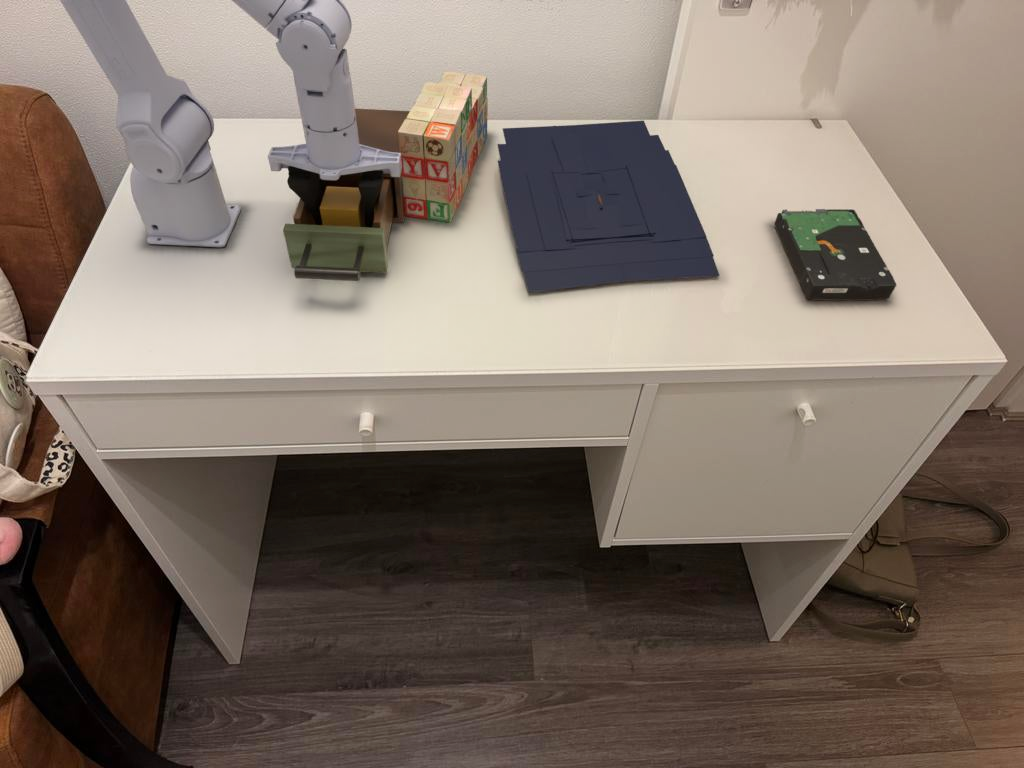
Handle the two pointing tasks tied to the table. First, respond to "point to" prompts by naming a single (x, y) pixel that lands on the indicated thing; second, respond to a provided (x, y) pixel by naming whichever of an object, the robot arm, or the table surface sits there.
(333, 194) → the block
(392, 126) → the cabinet
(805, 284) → the disk drive
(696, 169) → the table surface
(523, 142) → the navy folded towel
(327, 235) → the drawer
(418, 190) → the stack of blocks
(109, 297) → the table surface
